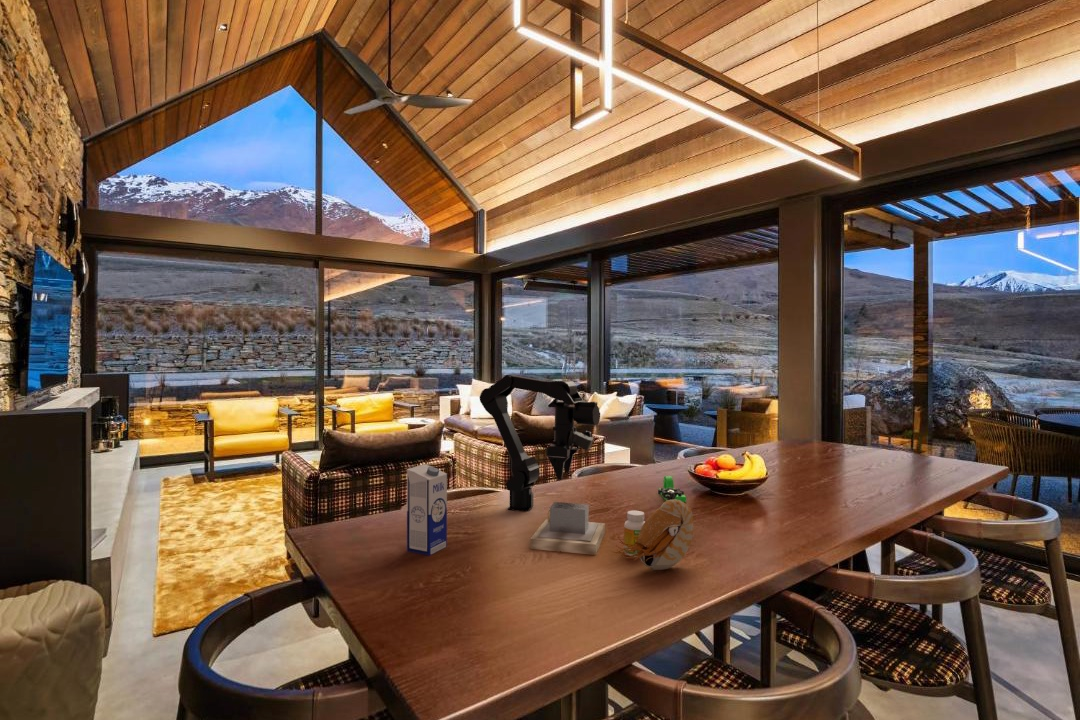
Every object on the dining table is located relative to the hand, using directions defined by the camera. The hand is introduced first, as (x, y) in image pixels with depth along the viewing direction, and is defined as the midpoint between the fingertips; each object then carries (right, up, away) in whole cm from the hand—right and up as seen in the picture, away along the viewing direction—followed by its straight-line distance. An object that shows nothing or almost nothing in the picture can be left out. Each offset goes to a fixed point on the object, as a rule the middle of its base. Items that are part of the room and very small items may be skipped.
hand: (563, 475), depth 160 cm
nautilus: (+18, -12, -42) cm, 48 cm away
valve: (+27, -12, -19) cm, 35 cm away
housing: (+1, -9, -22) cm, 24 cm away
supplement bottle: (+16, -12, -31) cm, 37 cm away
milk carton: (-34, -12, -29) cm, 46 cm away
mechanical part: (+37, -12, +21) cm, 44 cm away
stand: (0, -12, -22) cm, 25 cm away
